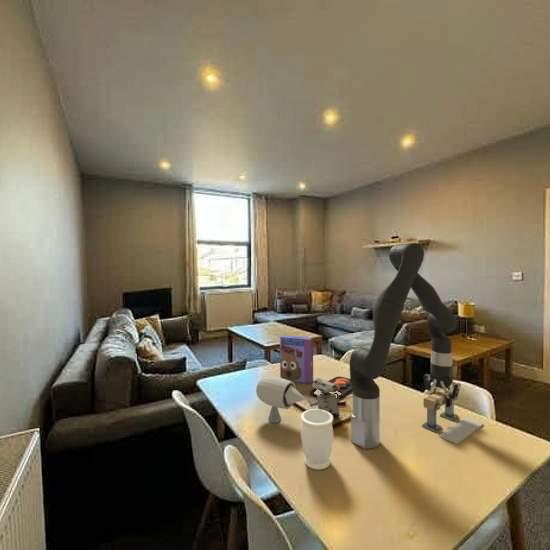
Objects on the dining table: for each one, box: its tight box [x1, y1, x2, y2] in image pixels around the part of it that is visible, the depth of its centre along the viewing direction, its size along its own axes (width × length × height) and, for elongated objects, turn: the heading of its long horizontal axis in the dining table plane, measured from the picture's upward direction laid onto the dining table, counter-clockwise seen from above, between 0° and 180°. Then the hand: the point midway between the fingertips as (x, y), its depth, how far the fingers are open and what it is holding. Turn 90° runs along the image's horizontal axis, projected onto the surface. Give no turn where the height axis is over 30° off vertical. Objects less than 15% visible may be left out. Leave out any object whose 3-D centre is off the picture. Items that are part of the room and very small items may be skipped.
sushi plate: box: [310, 376, 353, 397], centre depth 152 cm, size 29×30×4 cm
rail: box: [423, 386, 454, 411], centre depth 123 cm, size 19×4×4 cm, turn 125°
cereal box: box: [279, 334, 314, 385], centre depth 169 cm, size 17×5×24 cm, turn 67°
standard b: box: [439, 397, 460, 422], centre depth 128 cm, size 5×5×10 cm
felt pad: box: [439, 417, 484, 445], centre depth 117 cm, size 22×6×1 cm, turn 125°
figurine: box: [308, 377, 341, 418], centre depth 129 cm, size 9×12×15 cm
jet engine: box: [255, 376, 306, 423], centre depth 125 cm, size 15×20×18 cm
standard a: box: [421, 403, 442, 433], centre depth 119 cm, size 5×5×10 cm
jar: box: [300, 408, 334, 471], centre depth 99 cm, size 11×10×15 cm
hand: (440, 404), depth 123 cm, fingers open, 5 cm apart
